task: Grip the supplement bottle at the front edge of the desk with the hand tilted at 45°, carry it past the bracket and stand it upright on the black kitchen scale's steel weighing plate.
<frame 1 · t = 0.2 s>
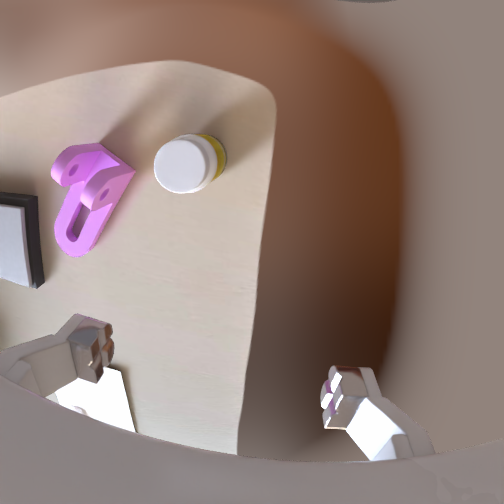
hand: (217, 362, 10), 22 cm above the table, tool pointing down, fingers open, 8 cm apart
scale: (11, 235, 33), on the table
paper: (91, 406, 44), on the table
bracket: (91, 204, 31), on the table
supplement bottle: (203, 158, 29), on the table
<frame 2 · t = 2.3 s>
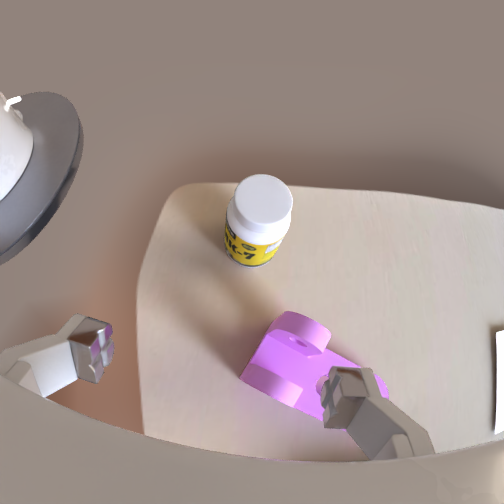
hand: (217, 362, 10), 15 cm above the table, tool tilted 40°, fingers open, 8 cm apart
bracket: (320, 384, 25), on the table
supplement bottle: (249, 245, 28), on the table
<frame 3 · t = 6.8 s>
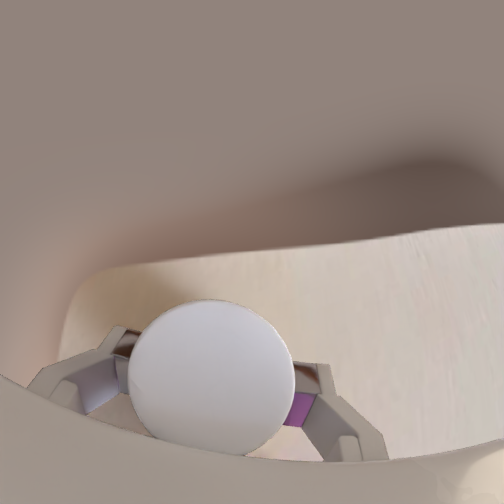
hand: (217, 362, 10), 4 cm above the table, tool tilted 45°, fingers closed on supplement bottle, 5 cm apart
supplement bottle: (218, 379, 14), on the table, touching gripper
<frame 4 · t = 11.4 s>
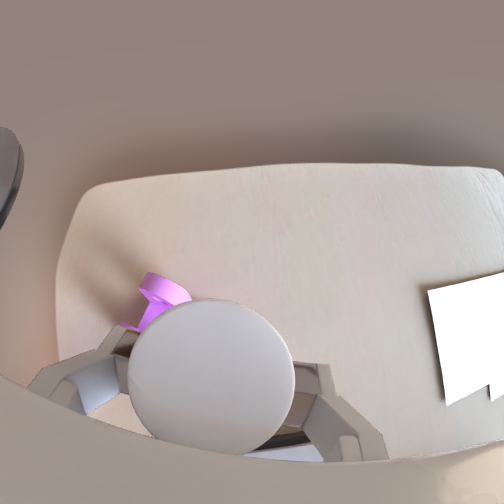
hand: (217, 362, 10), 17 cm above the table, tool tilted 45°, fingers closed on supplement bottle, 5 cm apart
scale: (289, 490, 22), on the table
paper: (500, 334, 29), on the table
bracket: (210, 350, 27), on the table
supplement bottle: (218, 379, 14), point 12 cm above the table, touching gripper
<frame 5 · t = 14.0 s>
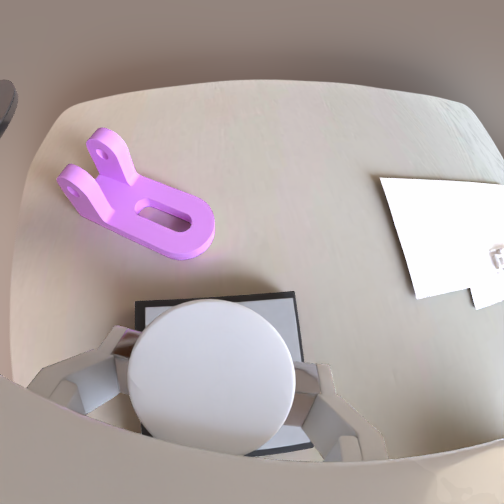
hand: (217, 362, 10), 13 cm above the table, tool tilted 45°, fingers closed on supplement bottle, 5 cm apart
scale: (221, 379, 22), on the table
paper: (476, 239, 29), on the table
bracket: (148, 216, 27), on the table
supplement bottle: (218, 379, 14), point 8 cm above the table, touching gripper
when the fingers open (7 cm above the table, at t = 16.1 s): supplement bottle stays where it is, resting on scale.
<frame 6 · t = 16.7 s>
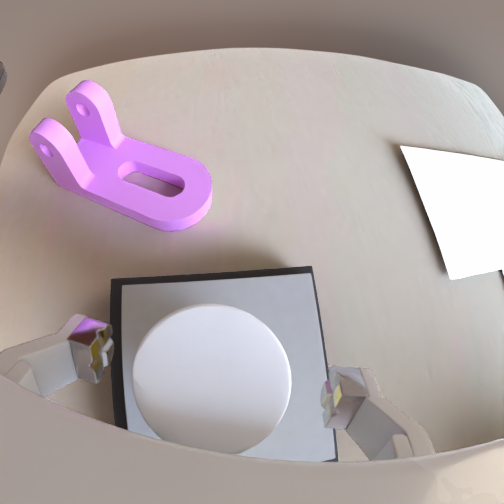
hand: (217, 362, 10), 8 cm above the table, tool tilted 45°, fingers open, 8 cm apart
scale: (219, 379, 17), on the table
paper: (503, 218, 25), on the table
bracket: (134, 182, 22), on the table
supplement bottle: (218, 379, 15), point 3 cm above the table, touching scale
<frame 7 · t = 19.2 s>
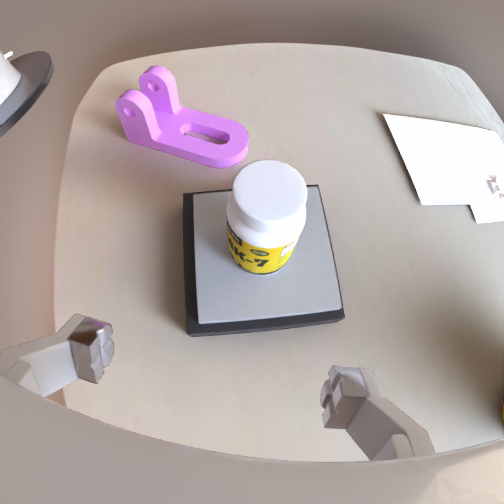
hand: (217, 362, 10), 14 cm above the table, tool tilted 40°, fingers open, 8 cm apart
scale: (258, 260, 26), on the table
paper: (472, 169, 32), on the table
bracket: (190, 138, 31), on the table
supplement bottle: (259, 249, 24), point 3 cm above the table, touching scale
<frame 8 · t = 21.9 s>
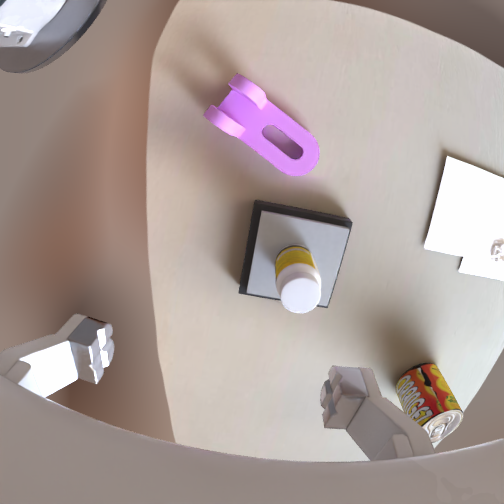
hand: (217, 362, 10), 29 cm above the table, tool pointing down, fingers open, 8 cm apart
scale: (293, 253, 40), on the table
paper: (490, 227, 37), on the table
beverage can: (417, 380, 47), on the table
bracket: (269, 132, 35), on the table
supplement bottle: (294, 261, 37), point 3 cm above the table, touching scale
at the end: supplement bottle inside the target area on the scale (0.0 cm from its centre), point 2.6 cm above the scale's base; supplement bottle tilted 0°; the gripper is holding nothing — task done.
